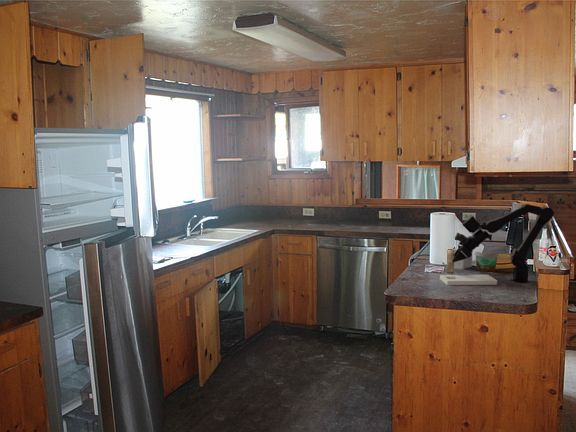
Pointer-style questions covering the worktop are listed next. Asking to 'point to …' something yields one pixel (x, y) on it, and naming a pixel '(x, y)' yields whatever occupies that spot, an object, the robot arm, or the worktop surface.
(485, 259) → the food container
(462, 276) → the board
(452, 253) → the peg
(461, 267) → the light bulb box
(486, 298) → the worktop surface
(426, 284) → the worktop surface
